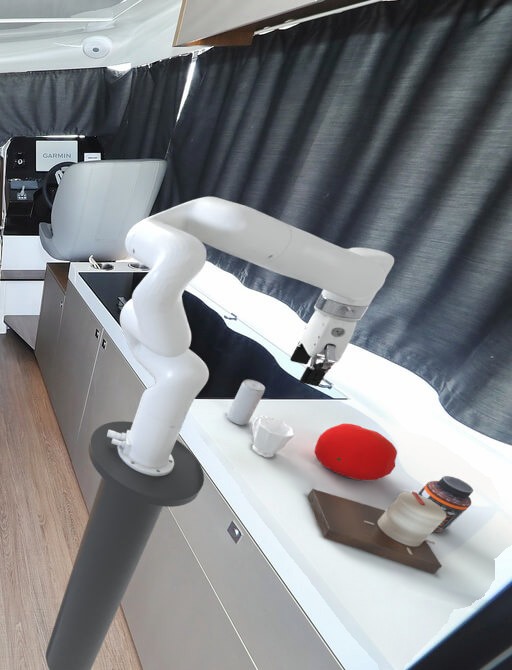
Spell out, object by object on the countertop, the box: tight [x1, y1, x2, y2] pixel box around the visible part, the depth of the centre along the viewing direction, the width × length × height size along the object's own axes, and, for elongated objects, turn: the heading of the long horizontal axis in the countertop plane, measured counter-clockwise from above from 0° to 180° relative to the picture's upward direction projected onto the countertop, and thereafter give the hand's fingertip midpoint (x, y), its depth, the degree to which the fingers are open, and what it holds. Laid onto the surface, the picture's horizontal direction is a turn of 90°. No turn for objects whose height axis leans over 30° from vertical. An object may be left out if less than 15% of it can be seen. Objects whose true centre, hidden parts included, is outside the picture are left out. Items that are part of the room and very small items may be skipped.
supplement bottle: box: [417, 475, 474, 533], centre depth 84 cm, size 6×6×11 cm
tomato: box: [314, 423, 398, 481], centre depth 96 cm, size 13×13×13 cm
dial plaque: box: [307, 488, 443, 575], centre depth 84 cm, size 17×11×3 cm, turn 63°
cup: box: [251, 415, 295, 458], centre depth 103 cm, size 7×10×8 cm
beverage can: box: [226, 379, 266, 426], centre depth 111 cm, size 5×5×12 cm
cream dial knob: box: [378, 491, 446, 547], centre depth 80 cm, size 6×6×8 cm
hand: (303, 372), depth 96 cm, fingers open, 9 cm apart
